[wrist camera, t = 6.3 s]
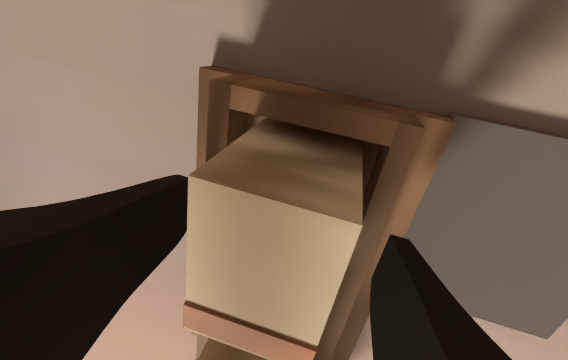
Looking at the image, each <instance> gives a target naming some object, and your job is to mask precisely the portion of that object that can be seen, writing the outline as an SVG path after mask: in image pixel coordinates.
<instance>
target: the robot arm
mask: <svg viewBox="0 0 568 360" xmlns="http://www.w3.org/2000/svg"><path fill="white" fill-rule="evenodd" d="M187 207H188V177H185V176H181V175H172V176H167V177H163V178H159V179H156V180H152V181H148V182H145V183H141V184H137V185H134V186H130V187H126V188H123V189H119V190H115V191H111V192H107V193H103V194H98V195H94V196H90V197H86V198H81V199H77V200H71V201H66V202H61V203H55V204H49V205H43V206H36V207H28V208H20V209H12V210H3V211H0V360H82V359H83V358H84V356H85V355H86V354H87V352H88V351H89V350H90V348H91V347H92V345H93V344H94V343H95V341H96V340H97V338H98V337H99V336H100V334H101V333H102V331H103V330H104V329H105V327H106V326H107V325H108V324H109V322H110V321H111V320H112V318H113V317H114V316H115V314H116V313H117V312H118V310H119V309H120V308H121V306H122V305H123V304H124V303H125V301H126V300H127V299H128V298H129V297H130V296H131V294H132V293H133V292H134V291H135V290H136V289H137V288H138V287H139V286H140V285H141V283H142V282H143V281H144V280H145V279H146V278H147V277H148V276H149V275H150V274H151V273H152V272H153V271H154V269H155V268H156V267H157V266H158V265H159V264H160V263H161V262H162V261H163V260H164V259H165V258H166V256H167V255H168V254H169V253H170V252H171V251H172V250H173V249H174V248H175V247H176V245H177V244H178V243H179V241H180V240H181V239H182V237H183V236H184V234H185V233H186V231H187ZM370 320H371V335H372V348H373V360H512V359H511V358H510V357H509V356H508V355H507V354H506V353H505V352H504V351H503V350H502V349H501V348H500V347H499V346H498V345H497V344H496V343H495V342H494V341H493V340H492V339H491V338H490V337H489V336H488V335H487V334H486V333H485V332H484V331H483V330H482V328H481V327H480V326H479V325H478V324H477V323H476V322H475V321H474V320H473V319H472V317H471V316H470V315H469V314H468V313H467V312H466V310H465V309H464V308H463V307H462V306H461V305H460V304H459V302H458V301H457V300H456V299H455V298H454V296H453V295H452V294H451V293H450V292H449V290H448V289H447V288H446V287H445V285H444V284H443V283H442V281H441V280H440V279H439V278H438V276H437V275H436V274H435V272H434V271H433V270H432V269H431V267H430V266H429V265H428V263H427V262H426V261H425V259H424V258H423V257H422V255H421V254H420V253H419V251H418V250H417V249H416V247H415V246H414V245H413V243H412V242H411V241H410V240H409V239H406V238H402V237H399V236H395V235H392V234H390V236H389V238H388V241H387V243H386V245H385V248H384V250H383V252H382V255H381V257H380V259H379V262H378V264H377V266H376V269H375V271H374V273H373V276H372V278H371V290H370Z"/></svg>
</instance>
